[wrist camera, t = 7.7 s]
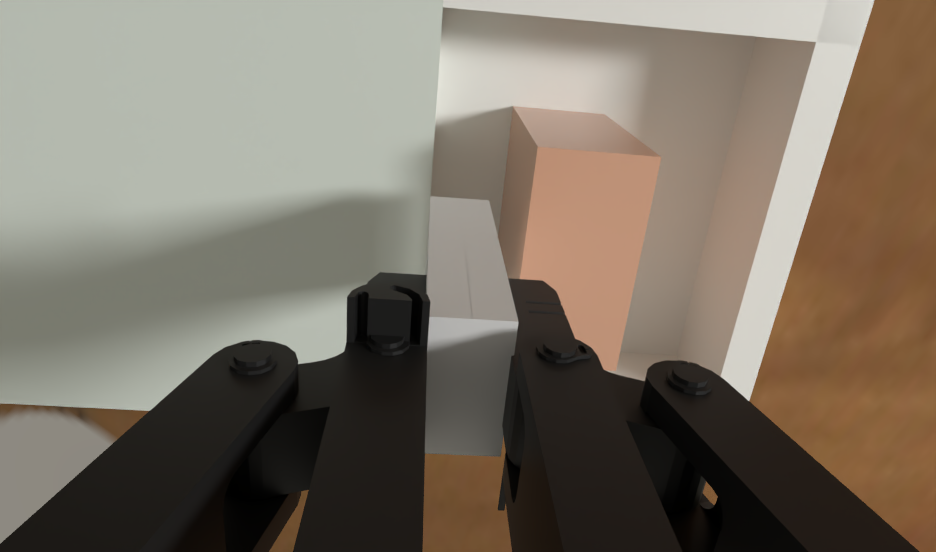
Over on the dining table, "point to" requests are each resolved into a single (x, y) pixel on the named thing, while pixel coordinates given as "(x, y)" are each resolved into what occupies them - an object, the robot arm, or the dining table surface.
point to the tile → (578, 216)
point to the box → (667, 141)
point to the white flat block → (202, 182)
